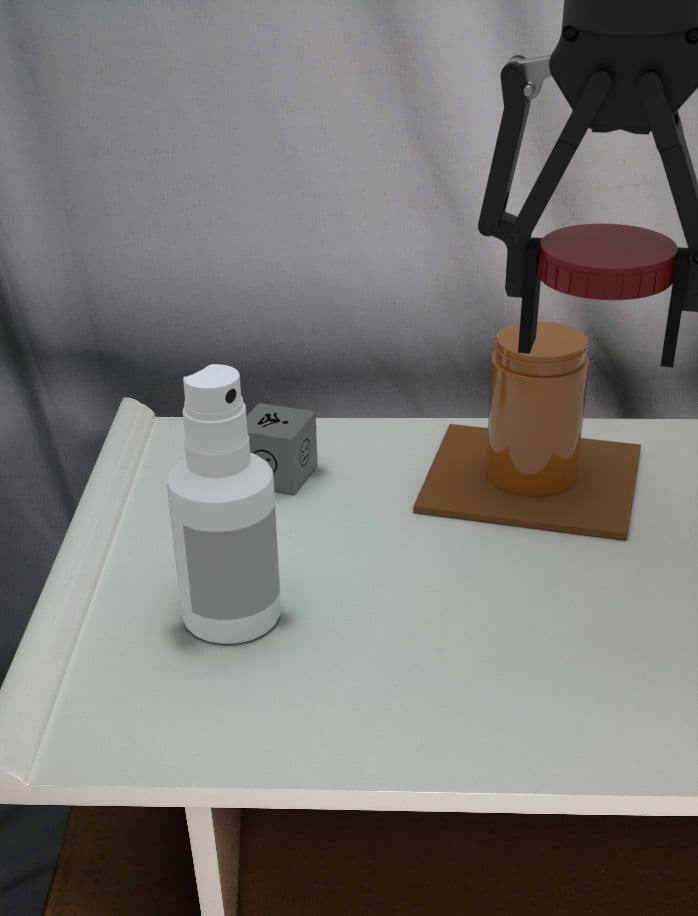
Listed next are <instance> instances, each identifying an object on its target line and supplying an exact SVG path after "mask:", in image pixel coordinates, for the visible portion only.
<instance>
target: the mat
mask: <svg viewBox="0 0 698 916" xmlns="http://www.w3.org/2000/svg"><path fill="white" fill-rule="evenodd" d="M487 432H488V427H482V426H474V425H465V424H457V423H456V424H455V423H449V424H448V426H447V429H446V431H445V433H444V436H443V437H442V440H441V442H440V445H439V447H438V449H437V452H436V454H435V456H434V459H433V460H432V463H431V465H430V467H429V470H428V472H427V474H426V477H425V479H424V481H423V483H422V486H421V488H420V490H419V493H418V495H417V497H416V499H415V500H414V501H415V502H414V503H413V506H412V507H413V508H412V512H413V513H416V514H423V515H429V516H430V515H431V516H438V517H444V518H445V517H446V518H452V519H461V520H468V521H476V522H483V523H484V522H485V523H491V524H499V525H507V526H515V527H521V528H529V529H539V530H546V531H553V532H559V533H560V532H561V533H568V534H577V535H584V536H593V537H598V538H599V537H600V538H607V539H614V540H623V541H627V540H628V533H629V528H630V527H629V526H630V520H631V514H632V509H633V508H632V507H633V500H634V495H635V494H634V493H635V488H636V487H635V486H636V481H637V475H638V468H639V461H640V455H641V449H642V444H640V443H633V442H632V443H631V442H622V441H614V440H613V441H612V440H604V439H594V438H586V437H585V438H584V437H581V444H580V454H579V464H578V473H577V479H576V482H575V483H574V484H573V485H572V486H571V487H570V488H569V489H567V490H565V491H563V492H561V493H558V494H554V495H549V496H522V495H517V494H512V493H509V492H506V491H504V490H501V489H499V488H498V487H496V486H494V485H493V484H492V483H491V482H490V481H489V480H488V478H487V476H486V473H485V468H486V450H487Z"/></svg>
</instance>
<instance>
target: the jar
mask: <svg viewBox="0 0 698 916" xmlns="http://www.w3.org/2000/svg"><path fill="white" fill-rule="evenodd" d="M519 330H520V322H518V323H513V324H510V325H508V326H506V327H504V328H502V329H500V330H499V331H498V333H497V332H496V335H495V337H494V341H495V343H494V349H495V350H494V351H493V353H492V354H491V360H490V379H489V381H490V382H489V395H488V397H489V398H488V417H487V428H488V432H487V450H486V468H485V473H486V476H487V478H488V480H489V481H490V482H491V483H492V484H493V485H494V486H496V487H498V488H499V489H501V490H504V491H506V492H509V493H512V494H517V495H522V496H549V495H554V494H558V493H561V492H563V491H565V490H567V489H569V488H570V487H571V486H572V485H573V484H574V483H575V482H576V479H577V473H578V464H579V454H580V444H581V438H582V435H583V434H582V433H583V425H584V414H585V406H586V405H585V404H586V397H587V386H588V377H589V367H590V358H589V356H588V355H587V352H588V349H589V342H588V338H587V336H586V335H585V333H583V332H582V330H580V329H578V328H576V327H574V326H571V325H568V324H564V323H560V322H556V321H545V320H544V321H543V320H542V321H541V320H539V321H537V333H536V339H535V341H534V344H533V347H532V349H531V352H530V354H525V353H518V343H519Z"/></svg>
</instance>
